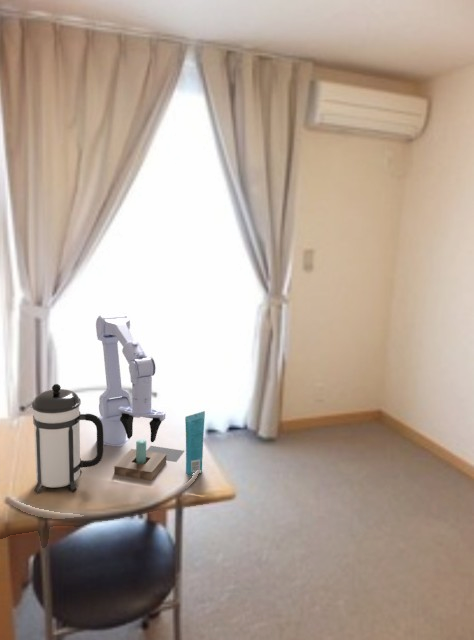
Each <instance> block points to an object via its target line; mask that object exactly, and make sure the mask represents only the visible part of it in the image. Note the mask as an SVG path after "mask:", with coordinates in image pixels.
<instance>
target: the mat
mask: <svg viewBox="0 0 474 640" xmlns="http://www.w3.org/2000/svg"><path fill="white" fill-rule="evenodd" d="M146 451H149V452H155V453H162V454H167V455H166V462H167V461H168V462H175V463H177V461H178V460H179V459H180V458H181V456H182V455H183V454H184V453H185V450H181V449H175V448H167V447H162V446H156V445H150V446H149V447H148V448H146Z"/></svg>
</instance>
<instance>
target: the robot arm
mask: <svg viewBox="0 0 474 640" xmlns="http://www.w3.org/2000/svg"><path fill="white" fill-rule="evenodd" d="M95 329H96V330H95V331H96V338H97V340H98V341H101V343H102V351H103V361H104V371H105V372H104V373H105V383H106V390H105V391H103V392H102V394H101V395H100V396H99V399H98V400H99V401H98V402H99V403H98V411H99V417H98V418H99V419H100V420H101V422H102V425H103V446H112V447H117V448H122V447H123V446H124V445H125V444H126V443H127V442H128V441H129V440H130V439H131V438H132V436H133V432H134V431H133V430H134V429H133V428H134V427H133V422H134V418H137V419H139V418H144V419H145V418H147V419H151V420H150V421H149V423H148V424H149V428H150V443H154V442H155V441H156V439H157V434H158V430H159V428H160V427H161V424H162V422H163V421H165V419H166V412H164V411H160V410H157V409H153V408H152V393H153V389H152V385H153V384H152V383H153V379H152V376H153V377H154V376H155V374H156V370H157V368H156V363H155V362H156V361H155V360H154V358H153V357H152V356H149V355H147V354H146V353H145V351H144V349H143V347H142V346H141V344H140V343H139V342H138V341H135V340H134V339H133V336H132V334H131V332H130V329H131V320H130V317H129V316H128V315H127V314H126V313H123V314H111V315H110V314H109V315H98V317H97V318H96V321H95ZM118 342H119V344H121V346H122V349H121V351H122V355H123V356H124V358H125V359H126V361H127V364H128V370H129V376H130V383H131V386H132V389H131V396H132V397H131V396H130V393H129V392H128V391H127V390H126V389H123V388H122V376H121V368H120V357H119V356H120V355H119V347H118ZM95 444H96V445H97V440H96V441H95Z"/></svg>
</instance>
